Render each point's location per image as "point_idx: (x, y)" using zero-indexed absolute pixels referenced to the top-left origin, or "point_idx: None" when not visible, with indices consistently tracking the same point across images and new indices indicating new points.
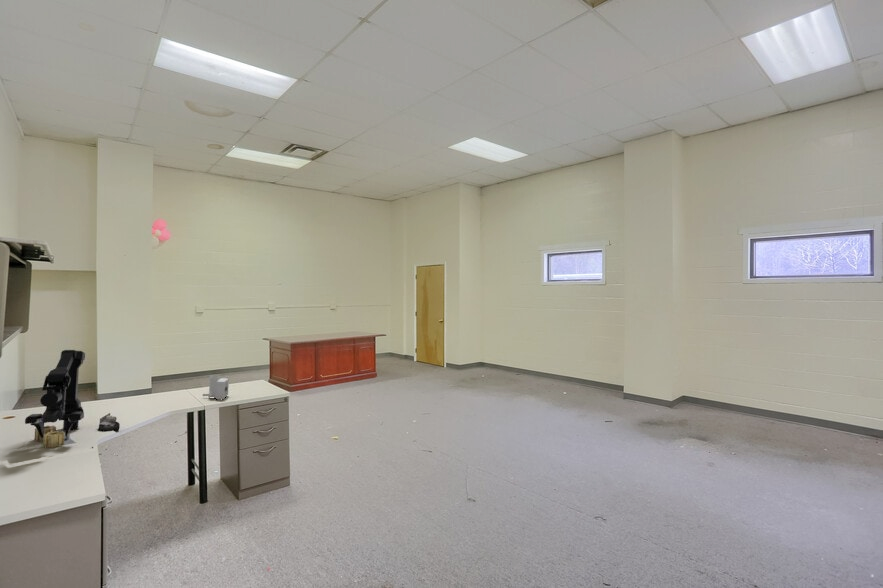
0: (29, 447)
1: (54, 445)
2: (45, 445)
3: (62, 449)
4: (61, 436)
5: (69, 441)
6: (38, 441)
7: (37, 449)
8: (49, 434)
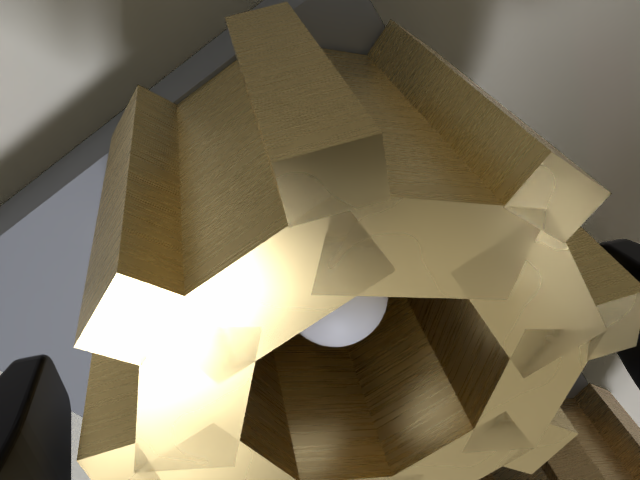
0: None
1: (229, 78)
2: (419, 44)
3: (66, 74)
4: (90, 276)
5: None
6: None
7: None
8: (493, 308)
